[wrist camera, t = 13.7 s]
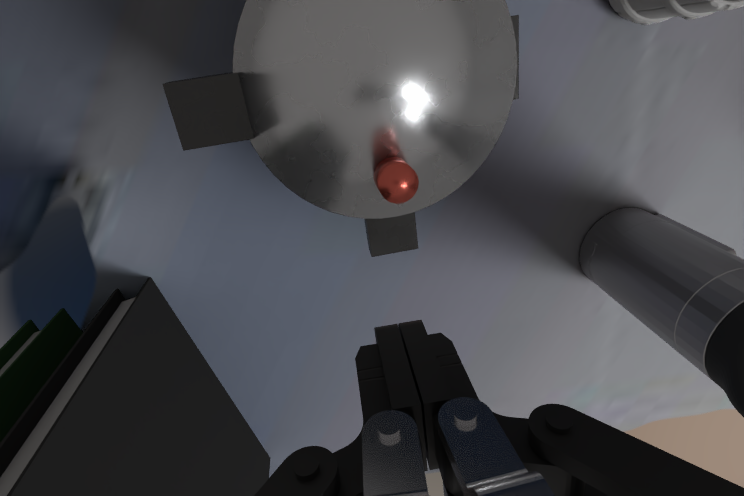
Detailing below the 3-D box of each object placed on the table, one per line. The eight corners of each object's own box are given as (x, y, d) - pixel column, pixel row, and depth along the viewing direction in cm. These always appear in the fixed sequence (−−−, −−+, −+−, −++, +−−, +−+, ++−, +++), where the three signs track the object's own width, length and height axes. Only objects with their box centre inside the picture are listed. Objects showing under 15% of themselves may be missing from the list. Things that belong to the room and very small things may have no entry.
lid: (504, -100, 25) (535, -122, 22) (506, 187, 32) (531, 203, 29) (130, -52, 23) (104, -68, 20) (219, 240, 30) (211, 264, 27)
